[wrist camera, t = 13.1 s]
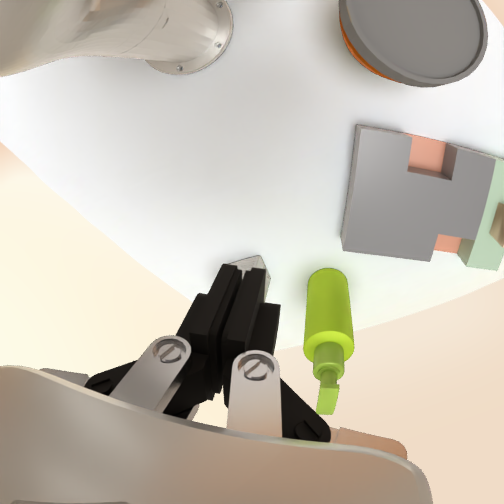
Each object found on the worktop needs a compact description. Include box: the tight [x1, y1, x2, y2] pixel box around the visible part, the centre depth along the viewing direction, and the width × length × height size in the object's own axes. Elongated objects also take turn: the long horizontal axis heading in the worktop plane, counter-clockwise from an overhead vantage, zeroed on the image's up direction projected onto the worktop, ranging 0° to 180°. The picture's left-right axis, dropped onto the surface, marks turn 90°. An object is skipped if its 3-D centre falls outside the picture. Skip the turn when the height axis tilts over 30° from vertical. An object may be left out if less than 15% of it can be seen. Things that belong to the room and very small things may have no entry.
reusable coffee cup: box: [339, 0, 488, 87], centre depth 22 cm, size 13×13×15 cm
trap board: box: [341, 125, 504, 271], centre depth 35 cm, size 15×24×4 cm, turn 88°
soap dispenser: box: [303, 268, 354, 415], centre depth 37 cm, size 6×7×20 cm
